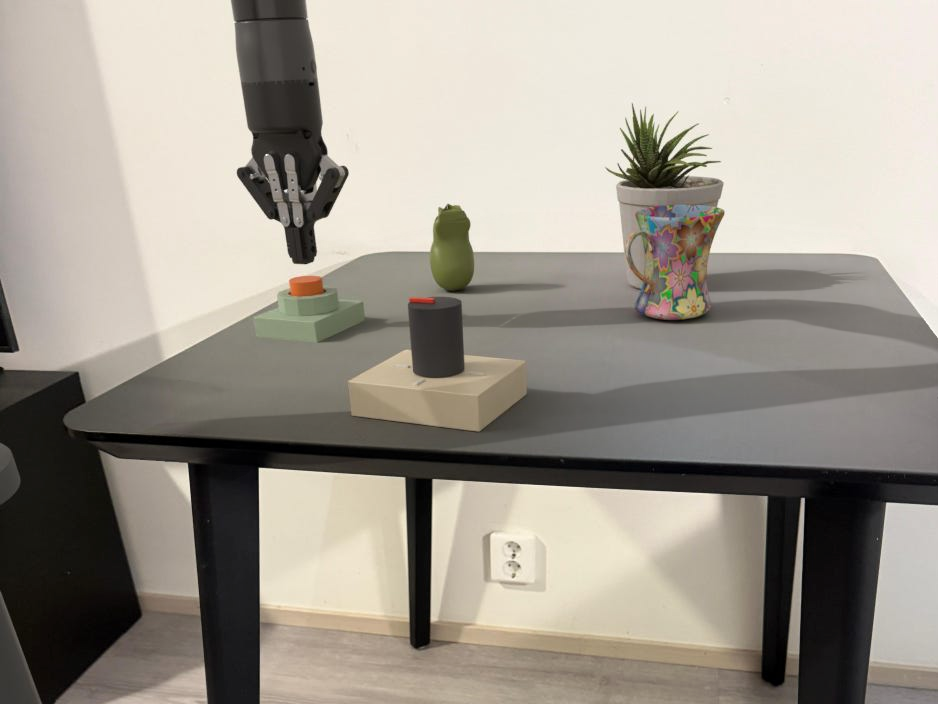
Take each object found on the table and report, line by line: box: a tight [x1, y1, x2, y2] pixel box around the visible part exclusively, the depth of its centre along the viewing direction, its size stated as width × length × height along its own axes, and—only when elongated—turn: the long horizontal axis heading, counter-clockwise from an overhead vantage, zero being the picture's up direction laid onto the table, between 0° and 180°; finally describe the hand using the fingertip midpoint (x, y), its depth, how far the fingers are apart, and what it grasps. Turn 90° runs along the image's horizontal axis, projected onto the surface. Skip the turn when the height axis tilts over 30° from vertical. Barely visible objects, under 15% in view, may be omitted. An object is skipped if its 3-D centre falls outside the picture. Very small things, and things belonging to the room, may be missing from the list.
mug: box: [624, 205, 725, 321], centre depth 100 cm, size 12×9×11 cm
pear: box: [429, 203, 475, 292], centre depth 115 cm, size 6×5×10 cm
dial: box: [407, 296, 465, 378], centre depth 77 cm, size 4×4×6 cm
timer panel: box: [347, 349, 528, 433], centre depth 79 cm, size 10×12×3 cm
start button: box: [288, 275, 324, 296], centre depth 101 cm, size 4×4×2 cm
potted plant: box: [604, 102, 725, 290], centre depth 111 cm, size 13×14×20 cm
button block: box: [252, 285, 366, 343], centre depth 103 cm, size 10×8×4 cm
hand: (304, 262), depth 100 cm, fingers closed
